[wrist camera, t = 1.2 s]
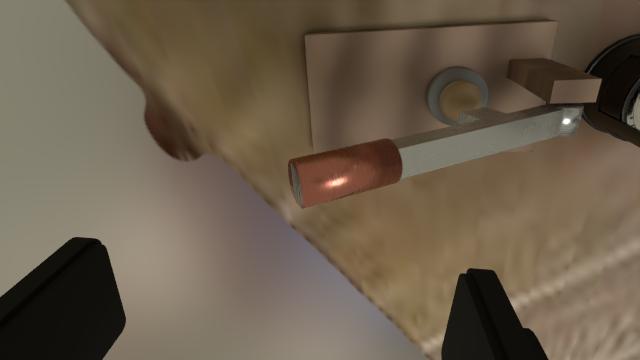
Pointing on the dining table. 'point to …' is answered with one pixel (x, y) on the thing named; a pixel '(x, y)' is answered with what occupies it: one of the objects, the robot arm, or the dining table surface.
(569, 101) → the base
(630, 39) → the french press
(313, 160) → the lever
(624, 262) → the dining table surface
